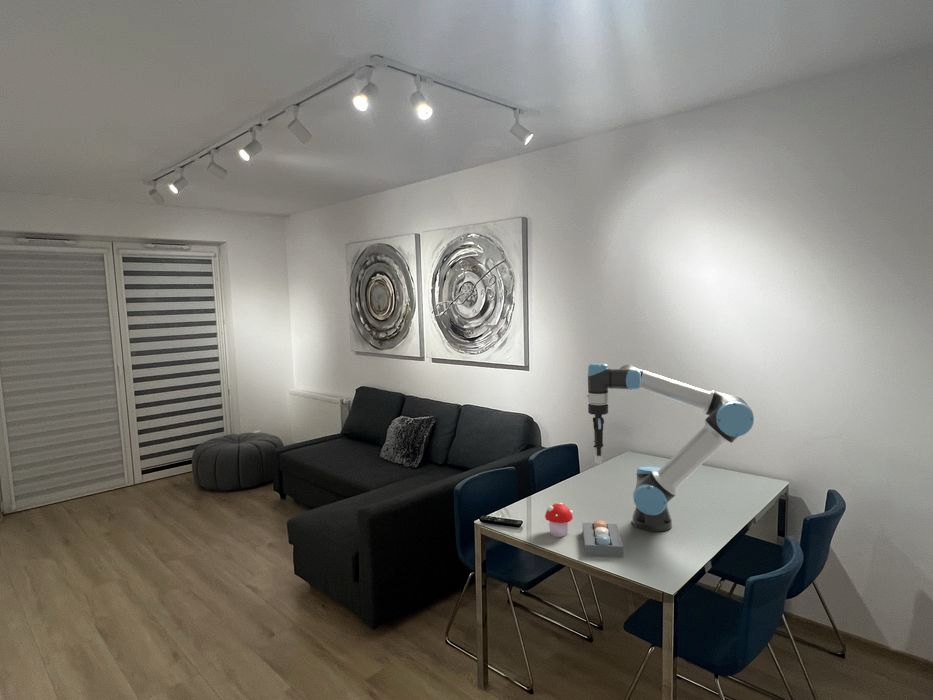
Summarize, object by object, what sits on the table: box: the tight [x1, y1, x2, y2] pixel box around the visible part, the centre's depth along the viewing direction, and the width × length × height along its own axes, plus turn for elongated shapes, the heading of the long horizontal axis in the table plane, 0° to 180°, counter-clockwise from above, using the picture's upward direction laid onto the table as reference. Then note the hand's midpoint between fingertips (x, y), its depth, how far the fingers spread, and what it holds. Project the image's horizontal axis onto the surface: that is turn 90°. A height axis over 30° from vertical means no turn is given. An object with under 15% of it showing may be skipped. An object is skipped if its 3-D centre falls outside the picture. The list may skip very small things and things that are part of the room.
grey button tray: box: [582, 522, 624, 559], centre depth 199 cm, size 13×20×4 cm, turn 171°
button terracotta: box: [593, 519, 608, 530], centre depth 206 cm, size 5×5×4 cm
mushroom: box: [544, 502, 574, 538], centre depth 209 cm, size 11×11×12 cm
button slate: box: [596, 534, 610, 545], centre depth 193 cm, size 5×5×4 cm
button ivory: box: [595, 527, 608, 537], centre depth 199 cm, size 5×5×4 cm
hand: (598, 463), depth 209 cm, fingers closed
